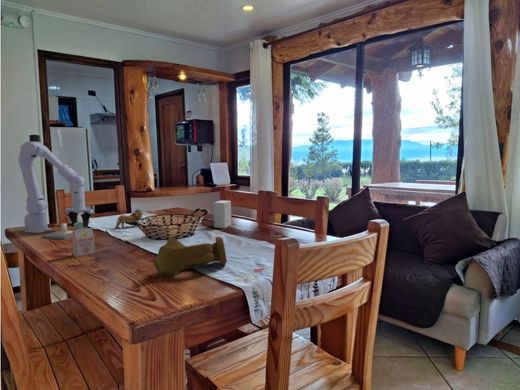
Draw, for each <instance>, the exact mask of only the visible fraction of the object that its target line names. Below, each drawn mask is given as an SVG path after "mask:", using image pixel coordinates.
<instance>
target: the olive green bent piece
mask: <svg viewBox="0 0 520 390" xmlns="http://www.w3.org/2000/svg"><path fill="white" fill-rule="evenodd" d="M227 261H228V260H227V254H226V247H225V242H224V239H223V238H222V237H220V236H217V237H215V242H214V243H199V244H193V245H187V246H186V245H184V244H183V243H182V242H181V241H180V240H178V239H177V238H176V237H173V236H170V237H168V238H167V240H166V243H165V244H164V245H161V246H160V247H159V249H158V252H157V254H156V255H155V257H154V258H153V263H152V264H153V266H154V267H155V269H156V271H157V272H158V273H159V274H160V275H162V276H168V277H174V276H176V275H177V274H179V272H181V271H182V270H183V269H187V270H190V269H192V268H195V267H201V266H202V267H203V266H205V265H208V264H211V263H214V262H219V263H220V264H221V266H224V265H226V264H227Z"/></svg>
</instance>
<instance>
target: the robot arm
mask: <svg viewBox="0 0 520 390" xmlns="http://www.w3.org/2000/svg"><path fill="white" fill-rule="evenodd" d="M19 149H20V151H19V155H18V160H17V161H18V164H19V168H20V172H21V175H22V178H23V182H24V185H25V186H24V187H25V189H26V193H27V197H26V200H25V202H26V205H25V208H26V211H27V214H26V215H25V216H24V218H23V219H24V222H23V223H24V231H23V233H32V234H33V233H34V234H40V233H45V232H48V231H52V230H53V228H50V227H48V217H47V209H48V207H49V203H48V201H47V200H46V199H45V197H44V195H43V194H42V193H41V190H40V186H39V183H38V179H37V175H36V171H35V168H34V163H33V162H34V160H35V159H36V158H37V157H41V158H44V159H45V160H47V161H48V162H49V163H50V164H51V165H53V166H54V168H56V170H57V173H58V174H59V175H60V176H61V177H62V178H63V179H64V180H65V181H66V182H67V183H68V185H69V187H71V192H70V193H71V203H72V206H71V207H70V208H69V207H68V208H65V213H67V214H66V215H67V217H68V218H69V220H71V222H72V224H71V225H72V228H74V224H75V223H77V216H78V213H84V214H81V217H82V220H83V227H84V228H85V227H87V228H88V226H89V223H90V222H89V219H90V218H91V216H92V214H93V213H94V209H92V208H87V207H86V200H85V198H86V197H85V187H84V186H85V184H86V179H85V178H84V176H83V175H80V174H79V173H78V172H76V171H75V170H74V169H73V168H72V166H71V165H68V164H63V163H62V162H61V161H60V159H58V157H57V156H55V154H54V153H53V152H52V151H50V149H49V148H48V147H47V146H46V145H44V143H42V142H40V141H25V142H24V143H22V145H21V146H20V147H19ZM79 211H82V212H79ZM88 222H89V223H88Z"/></svg>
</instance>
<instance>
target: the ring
mask: <svg viewBox="0 0 520 390" xmlns="http://www.w3.org/2000/svg"><path fill="white" fill-rule="evenodd" d="M87 228H88V227H85V228H84V227H83V222H80V223H75V224H74V227H73V230H80V229H87Z"/></svg>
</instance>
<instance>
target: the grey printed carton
mask: <svg viewBox="0 0 520 390" xmlns="http://www.w3.org/2000/svg"><path fill="white" fill-rule="evenodd" d="M72 230H73V237H72V247H73V249H72V250H73V251H72V252H73V256H74V257H75V258H81V257H86V256H91V255H95V254H96V249H95V248H96V246H95V245H96V244H95V236H94V230H93V227H89V228H88V227H87V229H80V230H74V229H72Z"/></svg>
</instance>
